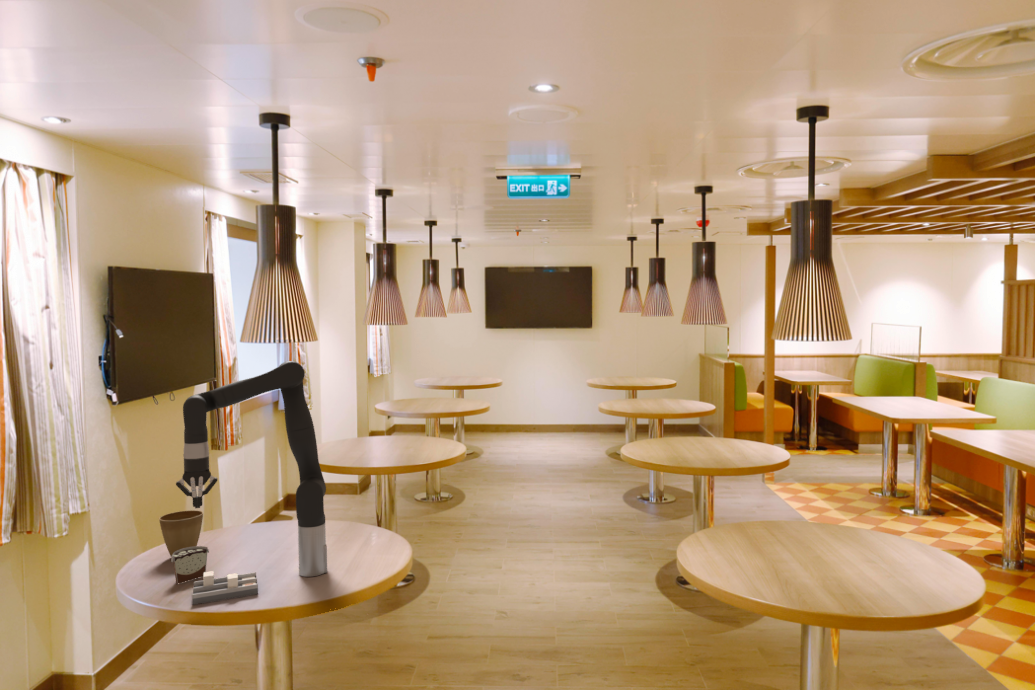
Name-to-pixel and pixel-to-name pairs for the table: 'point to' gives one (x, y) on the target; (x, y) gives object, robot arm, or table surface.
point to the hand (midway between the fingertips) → (197, 507)
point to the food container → (189, 563)
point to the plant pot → (181, 529)
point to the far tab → (208, 578)
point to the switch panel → (225, 589)
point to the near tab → (232, 580)
